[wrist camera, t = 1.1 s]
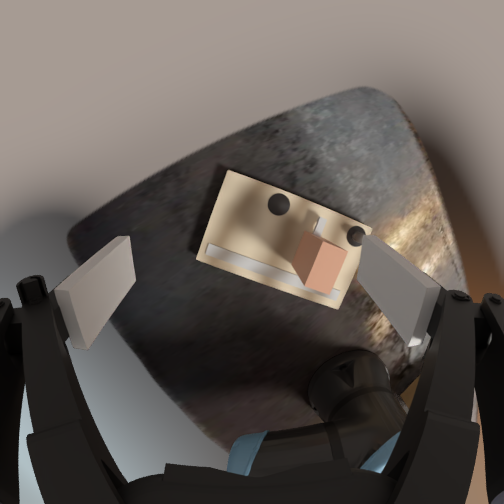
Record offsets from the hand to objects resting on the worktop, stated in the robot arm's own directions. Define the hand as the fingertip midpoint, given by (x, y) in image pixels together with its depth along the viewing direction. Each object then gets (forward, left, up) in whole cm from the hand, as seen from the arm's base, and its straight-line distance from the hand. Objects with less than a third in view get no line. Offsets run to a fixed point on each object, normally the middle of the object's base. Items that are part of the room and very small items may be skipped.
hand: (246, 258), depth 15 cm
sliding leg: (-9, 0, -23) cm, 25 cm away
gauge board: (-6, +1, -25) cm, 26 cm away
